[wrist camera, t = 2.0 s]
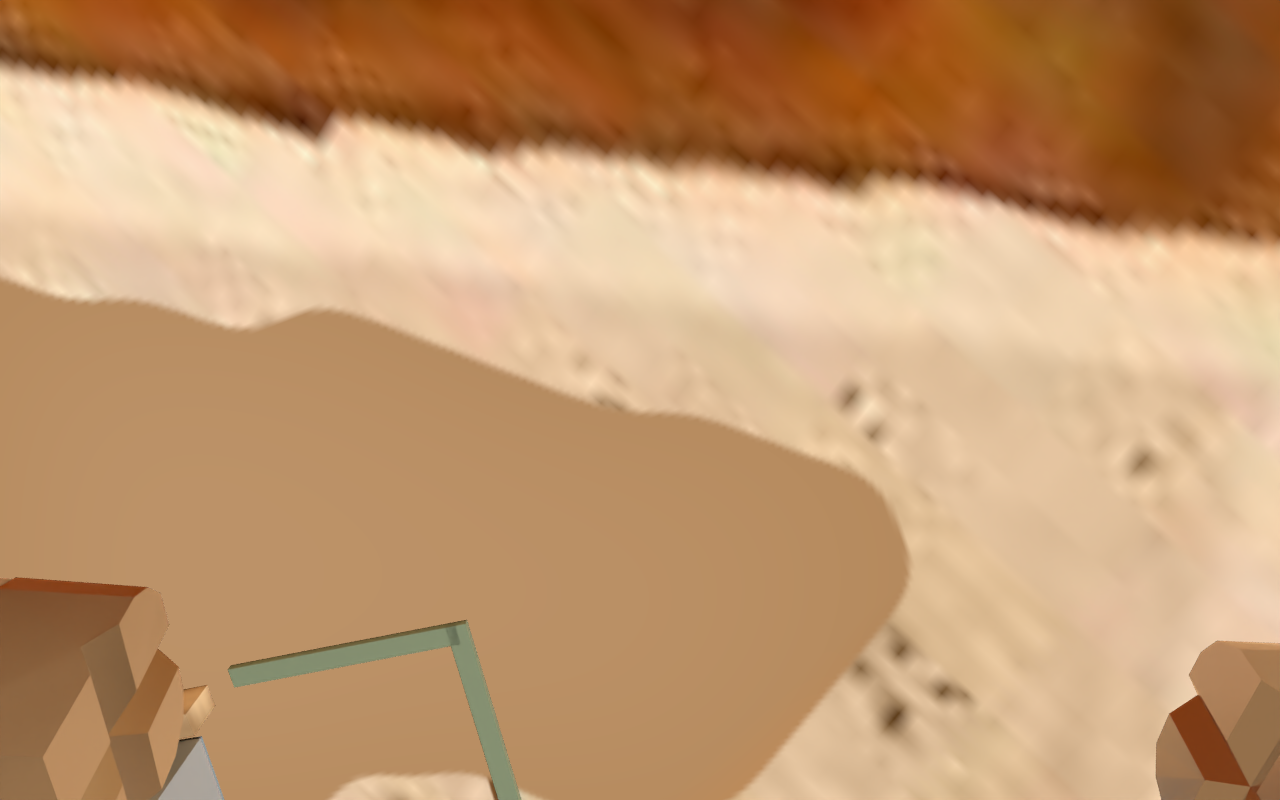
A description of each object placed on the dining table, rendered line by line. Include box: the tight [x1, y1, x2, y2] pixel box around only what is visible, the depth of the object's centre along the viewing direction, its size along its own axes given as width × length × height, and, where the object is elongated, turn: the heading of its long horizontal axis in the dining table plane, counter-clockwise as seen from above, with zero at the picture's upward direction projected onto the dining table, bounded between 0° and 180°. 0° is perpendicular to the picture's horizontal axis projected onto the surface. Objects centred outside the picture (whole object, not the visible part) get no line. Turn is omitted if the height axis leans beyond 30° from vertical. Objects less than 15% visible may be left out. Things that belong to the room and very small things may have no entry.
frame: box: [228, 620, 521, 800], centre depth 53 cm, size 13×12×1 cm
